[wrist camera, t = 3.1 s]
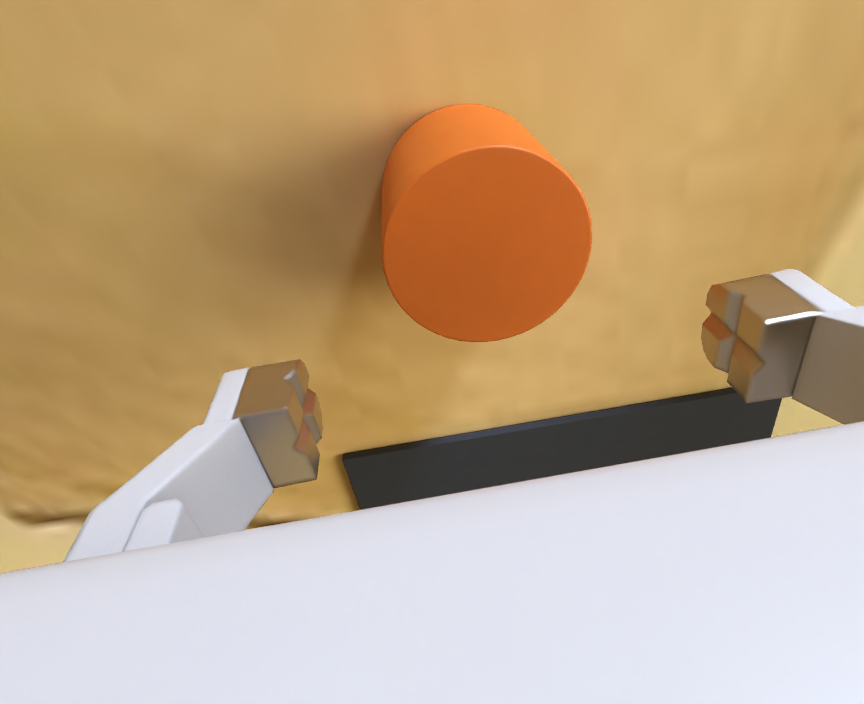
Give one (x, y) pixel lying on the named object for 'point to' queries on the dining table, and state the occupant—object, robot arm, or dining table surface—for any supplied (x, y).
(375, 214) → the dining table surface
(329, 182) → the dining table surface
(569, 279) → the cylinder
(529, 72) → the dining table surface
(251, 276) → the dining table surface
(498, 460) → the mat
